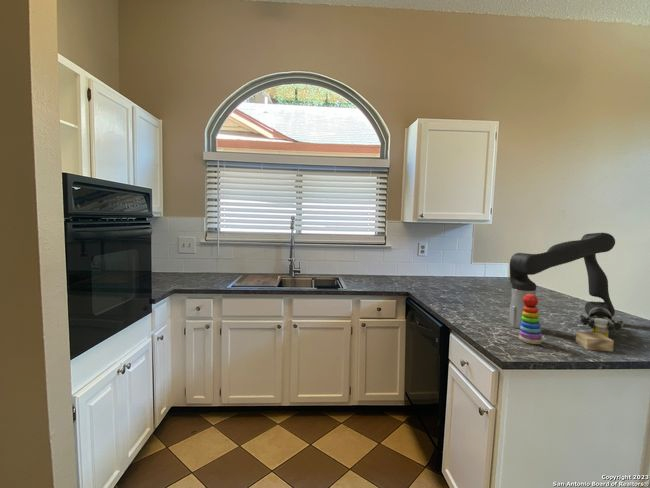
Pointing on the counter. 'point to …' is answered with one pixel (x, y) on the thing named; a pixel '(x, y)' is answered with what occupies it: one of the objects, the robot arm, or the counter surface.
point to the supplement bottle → (601, 326)
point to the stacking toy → (530, 321)
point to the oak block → (594, 341)
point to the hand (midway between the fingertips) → (601, 327)
